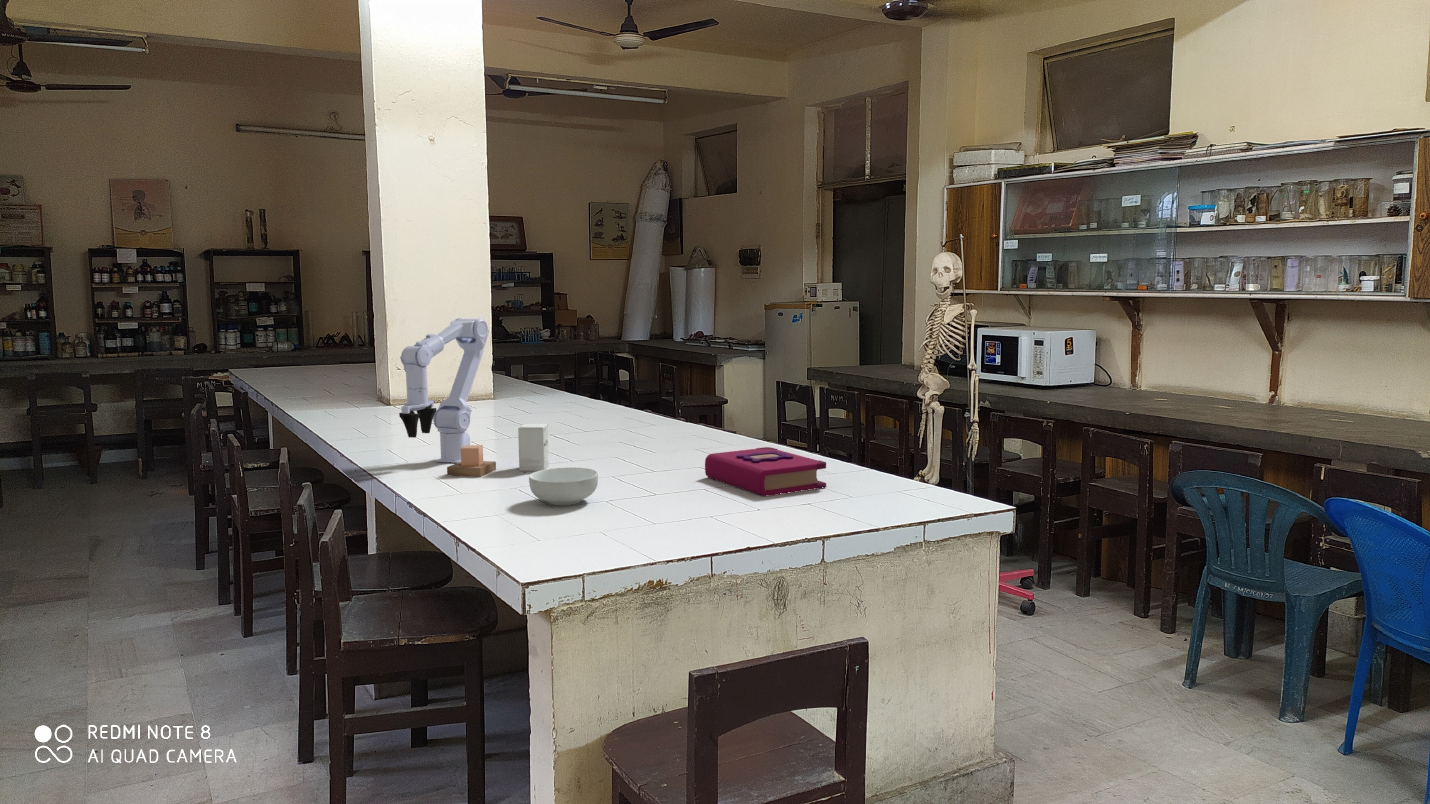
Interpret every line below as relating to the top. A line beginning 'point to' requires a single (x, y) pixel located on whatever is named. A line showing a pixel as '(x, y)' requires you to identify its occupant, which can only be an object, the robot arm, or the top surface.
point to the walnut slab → (471, 469)
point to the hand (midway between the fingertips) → (419, 435)
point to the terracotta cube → (472, 455)
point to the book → (764, 470)
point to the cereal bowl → (563, 484)
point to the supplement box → (533, 447)
